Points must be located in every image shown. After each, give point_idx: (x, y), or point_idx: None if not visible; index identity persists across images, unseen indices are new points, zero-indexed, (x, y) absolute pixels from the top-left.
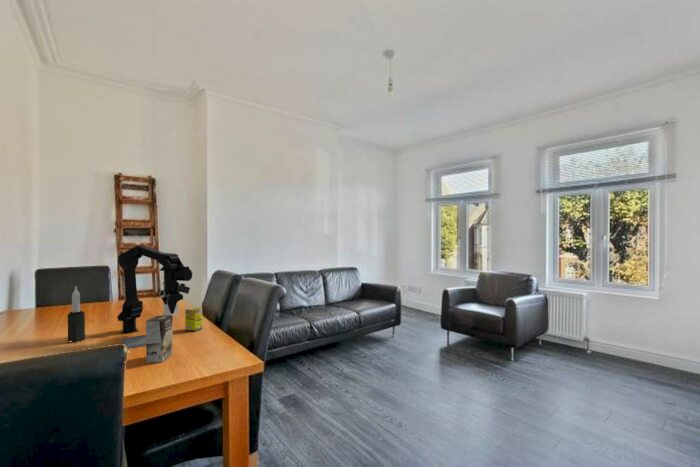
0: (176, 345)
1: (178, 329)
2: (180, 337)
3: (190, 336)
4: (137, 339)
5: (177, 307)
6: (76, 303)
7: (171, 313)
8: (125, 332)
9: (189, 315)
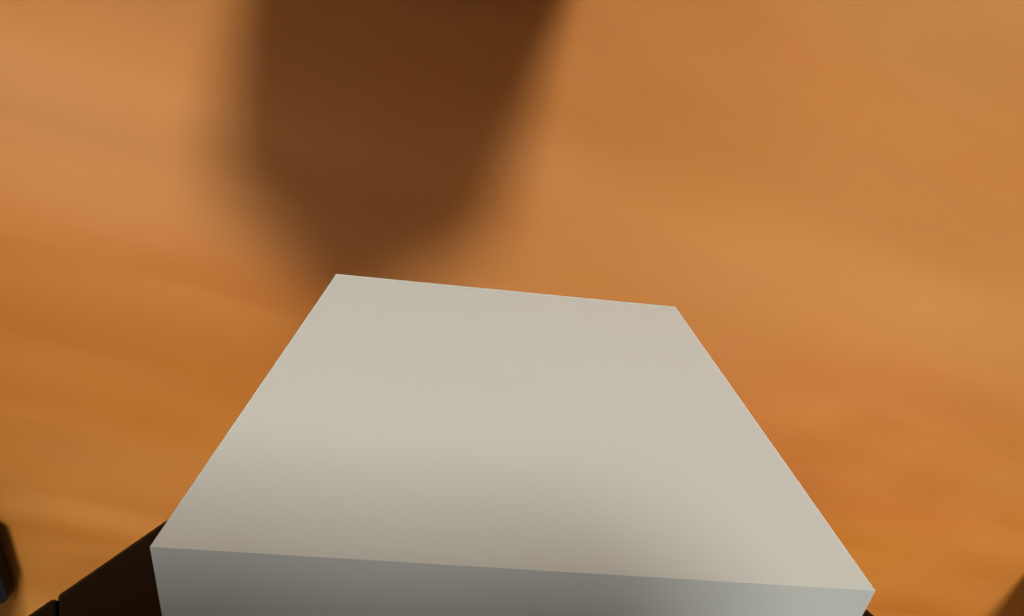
0: (976, 358)
1: (209, 15)
2: (712, 193)
3: (800, 61)
4: None
5: (778, 480)
6: None
7: None
8: (3, 586)
9: None
